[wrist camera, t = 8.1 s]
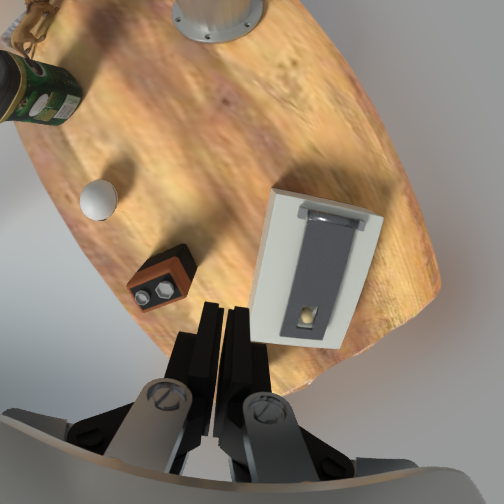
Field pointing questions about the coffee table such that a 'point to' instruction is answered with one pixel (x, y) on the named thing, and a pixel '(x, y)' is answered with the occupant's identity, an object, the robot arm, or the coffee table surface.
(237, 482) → the robot arm
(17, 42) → the lion figurine
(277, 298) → the keepsake box
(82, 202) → the seamed sphere
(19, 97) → the coffee jar
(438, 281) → the coffee table surface
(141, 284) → the battery
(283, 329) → the clasp strap
